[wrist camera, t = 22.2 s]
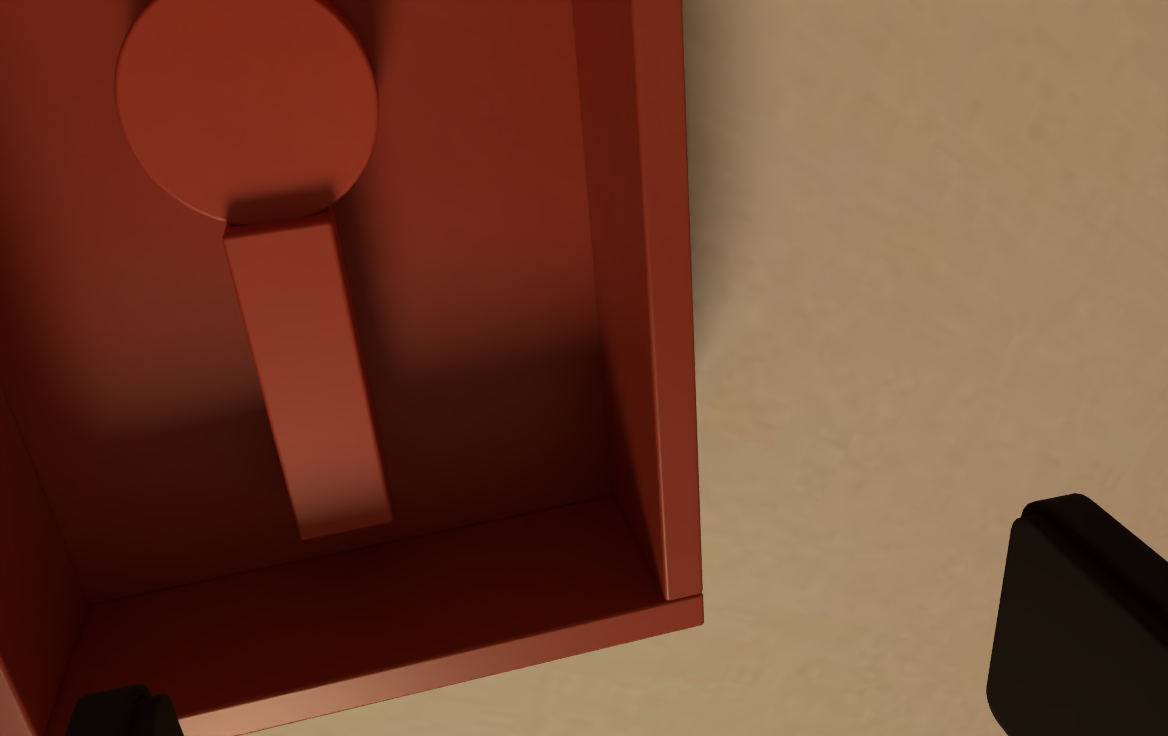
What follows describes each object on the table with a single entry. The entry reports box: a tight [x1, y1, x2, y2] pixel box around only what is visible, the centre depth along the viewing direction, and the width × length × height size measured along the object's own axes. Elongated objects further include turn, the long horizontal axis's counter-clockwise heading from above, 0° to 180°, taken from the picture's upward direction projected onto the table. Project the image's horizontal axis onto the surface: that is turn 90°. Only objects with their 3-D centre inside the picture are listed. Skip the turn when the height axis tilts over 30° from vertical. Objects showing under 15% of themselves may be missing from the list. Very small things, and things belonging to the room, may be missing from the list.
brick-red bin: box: [0, 0, 704, 736], centre depth 15 cm, size 13×11×4 cm
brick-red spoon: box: [114, 0, 393, 540], centre depth 15 cm, size 9×4×2 cm, turn 5°
